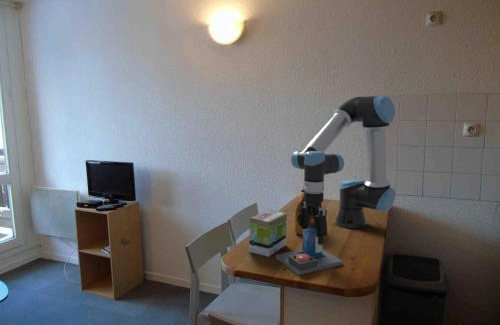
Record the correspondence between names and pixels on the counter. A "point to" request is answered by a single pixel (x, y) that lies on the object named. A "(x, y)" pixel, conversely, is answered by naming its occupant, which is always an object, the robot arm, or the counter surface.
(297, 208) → the coffee package
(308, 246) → the perfume bottle
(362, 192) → the robot arm
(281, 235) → the tea box
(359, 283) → the counter surface
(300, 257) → the button
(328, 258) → the pallet plate
